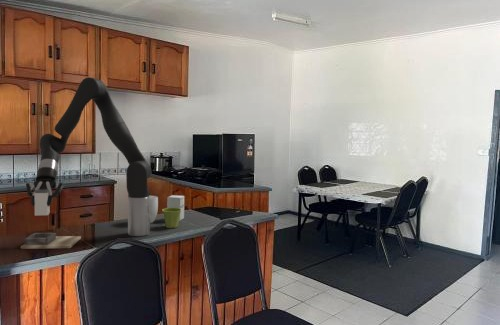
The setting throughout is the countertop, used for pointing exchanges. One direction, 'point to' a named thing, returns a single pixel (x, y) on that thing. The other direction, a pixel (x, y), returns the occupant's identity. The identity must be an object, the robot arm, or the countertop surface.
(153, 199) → the mug
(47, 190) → the block
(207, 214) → the countertop surface
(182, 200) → the supplement box
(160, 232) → the countertop surface
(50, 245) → the board
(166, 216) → the plant pot
